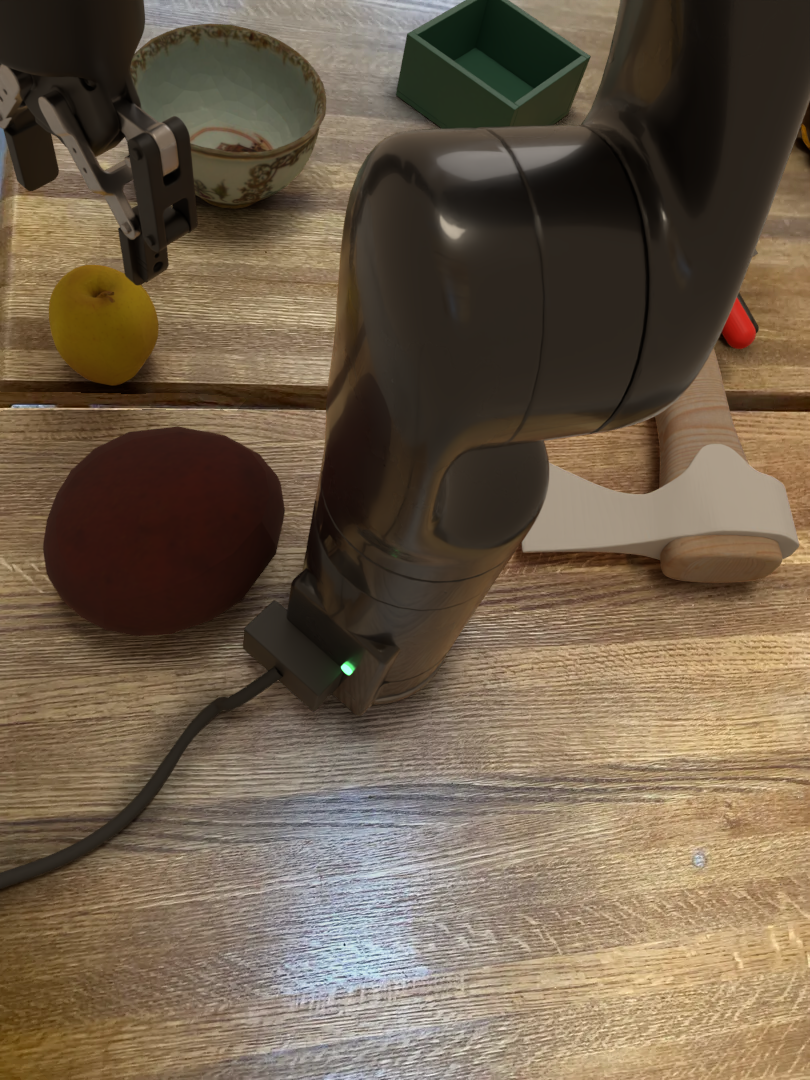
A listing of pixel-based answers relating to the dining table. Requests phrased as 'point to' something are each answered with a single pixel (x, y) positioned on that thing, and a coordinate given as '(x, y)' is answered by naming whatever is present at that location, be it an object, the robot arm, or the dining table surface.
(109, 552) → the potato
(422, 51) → the bin
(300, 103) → the bowl
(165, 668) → the dining table surface
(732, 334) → the toy gun
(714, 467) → the axe
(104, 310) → the apple
